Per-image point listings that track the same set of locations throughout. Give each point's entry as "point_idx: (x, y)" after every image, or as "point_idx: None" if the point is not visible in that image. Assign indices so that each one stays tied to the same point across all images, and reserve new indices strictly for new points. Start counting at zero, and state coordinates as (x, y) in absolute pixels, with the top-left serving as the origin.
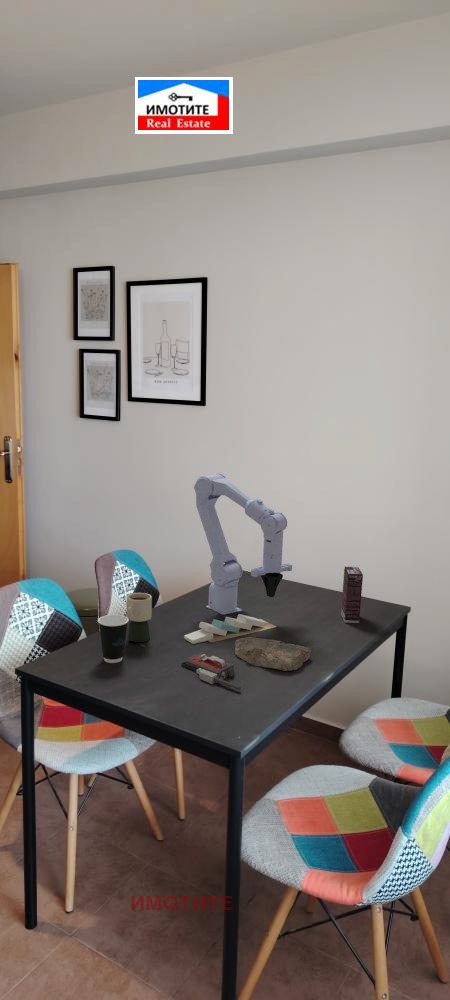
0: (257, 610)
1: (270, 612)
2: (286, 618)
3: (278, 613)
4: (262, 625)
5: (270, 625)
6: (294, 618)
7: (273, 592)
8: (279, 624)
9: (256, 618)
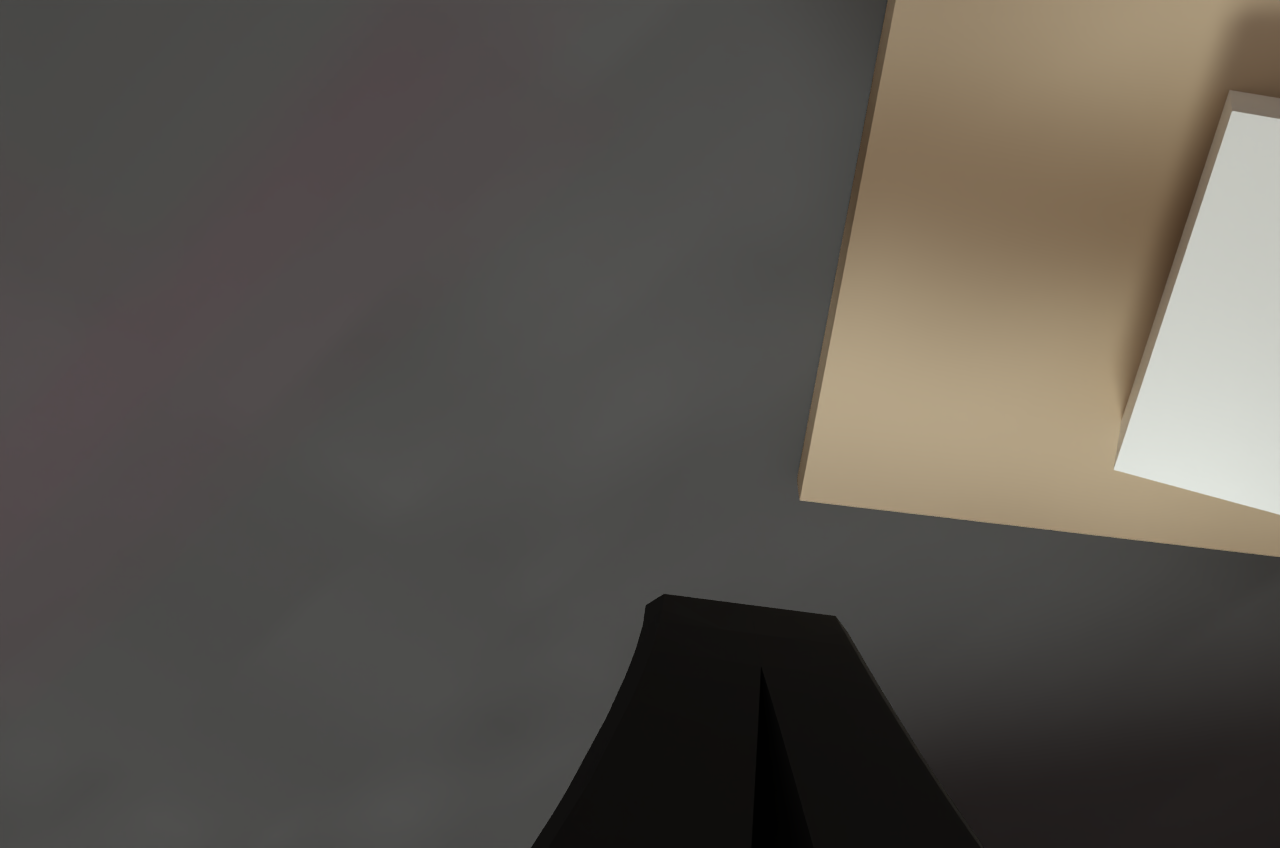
0: (439, 829)
1: (294, 649)
2: (217, 240)
3: (186, 532)
4: (1261, 101)
5: (969, 64)
6: (45, 127)
7: (780, 716)
8: (626, 64)
9: (1133, 425)
